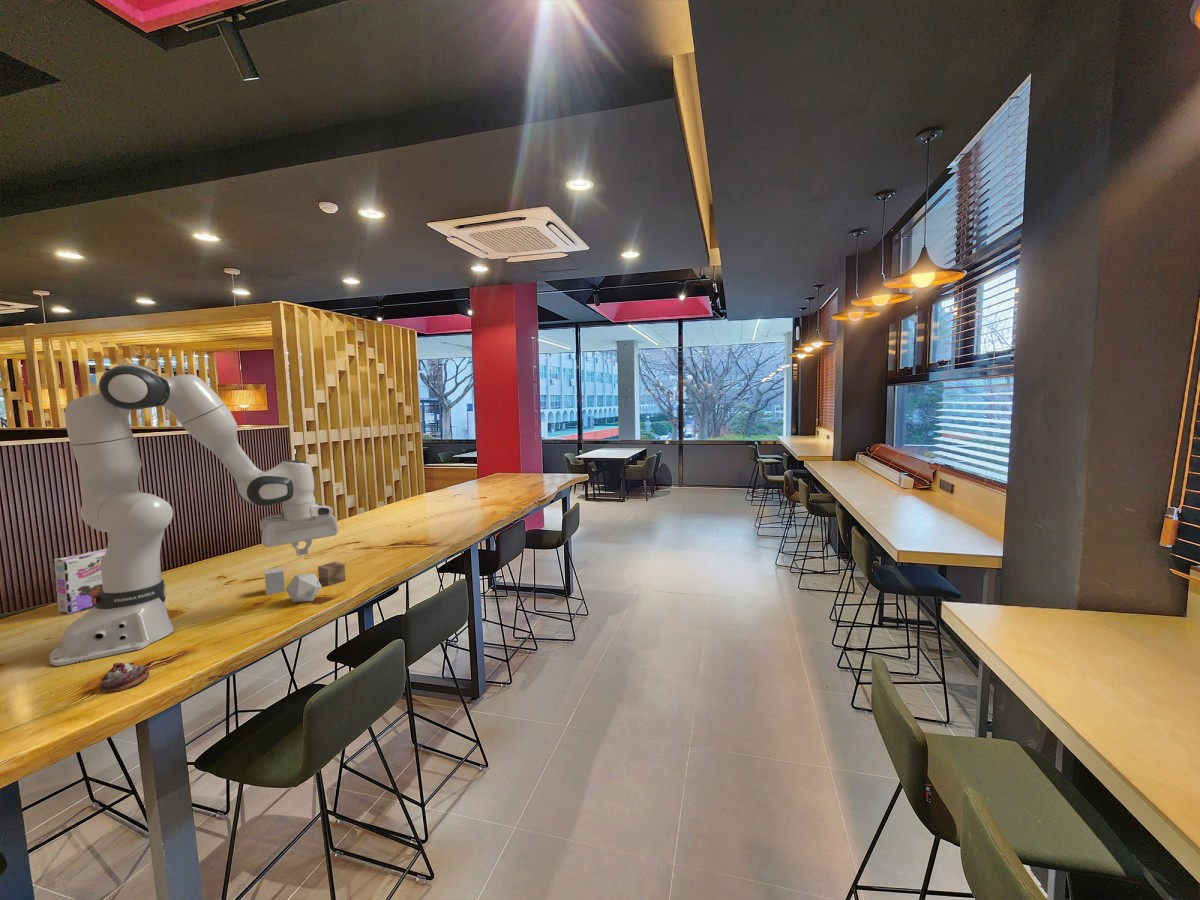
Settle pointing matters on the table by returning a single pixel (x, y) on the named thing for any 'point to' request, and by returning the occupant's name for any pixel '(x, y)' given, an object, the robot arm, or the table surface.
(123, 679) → the pastry
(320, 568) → the walnut cube
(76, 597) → the candy box
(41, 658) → the table surface
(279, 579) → the grey plastic block
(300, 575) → the die
